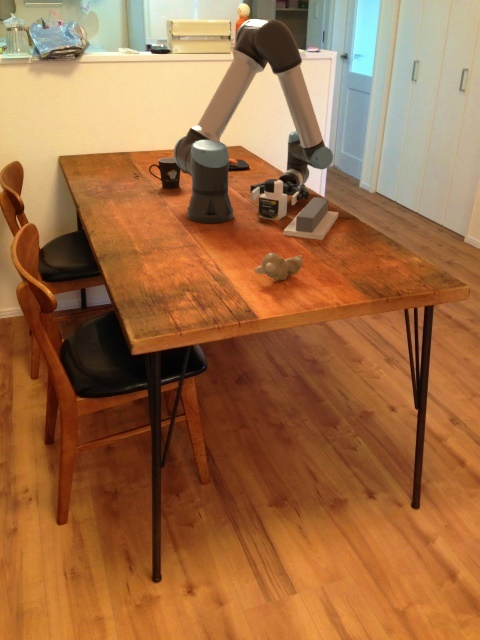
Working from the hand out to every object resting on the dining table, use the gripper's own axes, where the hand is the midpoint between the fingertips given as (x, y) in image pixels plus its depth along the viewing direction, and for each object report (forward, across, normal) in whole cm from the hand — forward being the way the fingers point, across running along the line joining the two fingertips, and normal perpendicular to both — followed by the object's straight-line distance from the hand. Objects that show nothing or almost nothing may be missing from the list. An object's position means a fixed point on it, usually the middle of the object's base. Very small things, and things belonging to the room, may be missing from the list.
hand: (272, 198), depth 192 cm
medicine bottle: (-2, 0, -7) cm, 7 cm away
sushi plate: (-63, +47, -7) cm, 79 cm away
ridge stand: (+2, -14, -6) cm, 16 cm away
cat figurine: (+46, -16, -7) cm, 49 cm away
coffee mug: (-22, +48, -7) cm, 53 cm away
